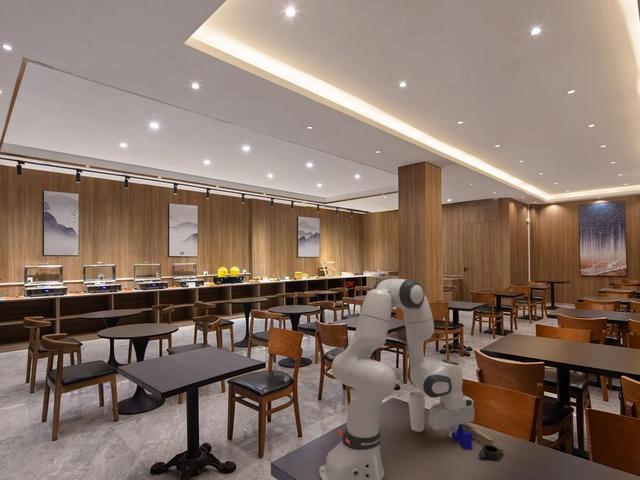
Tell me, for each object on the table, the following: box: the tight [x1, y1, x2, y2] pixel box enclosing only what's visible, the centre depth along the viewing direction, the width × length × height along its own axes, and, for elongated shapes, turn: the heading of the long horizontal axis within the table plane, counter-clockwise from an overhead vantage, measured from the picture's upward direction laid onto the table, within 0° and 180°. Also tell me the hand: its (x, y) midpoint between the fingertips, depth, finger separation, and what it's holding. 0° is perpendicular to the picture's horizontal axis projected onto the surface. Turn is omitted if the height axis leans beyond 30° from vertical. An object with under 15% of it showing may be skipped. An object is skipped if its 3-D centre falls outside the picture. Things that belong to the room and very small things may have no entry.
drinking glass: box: [408, 390, 426, 433], centre depth 152 cm, size 7×7×15 cm
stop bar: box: [463, 423, 495, 447], centre depth 145 cm, size 6×24×4 cm, turn 21°
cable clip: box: [451, 424, 473, 451], centre depth 142 cm, size 12×4×6 cm, turn 177°
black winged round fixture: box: [478, 445, 504, 462], centre depth 131 cm, size 8×10×3 cm
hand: (452, 436), depth 142 cm, fingers closed
